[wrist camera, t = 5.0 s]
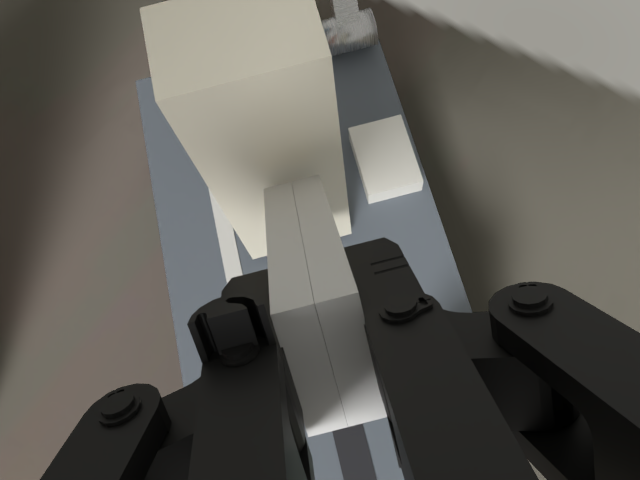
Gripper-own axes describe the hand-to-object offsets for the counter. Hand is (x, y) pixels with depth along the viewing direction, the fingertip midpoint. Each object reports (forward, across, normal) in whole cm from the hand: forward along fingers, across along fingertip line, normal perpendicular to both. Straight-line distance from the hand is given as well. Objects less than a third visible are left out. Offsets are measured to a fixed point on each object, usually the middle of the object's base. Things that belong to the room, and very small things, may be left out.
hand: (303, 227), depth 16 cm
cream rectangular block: (+5, 0, -2) cm, 5 cm away
